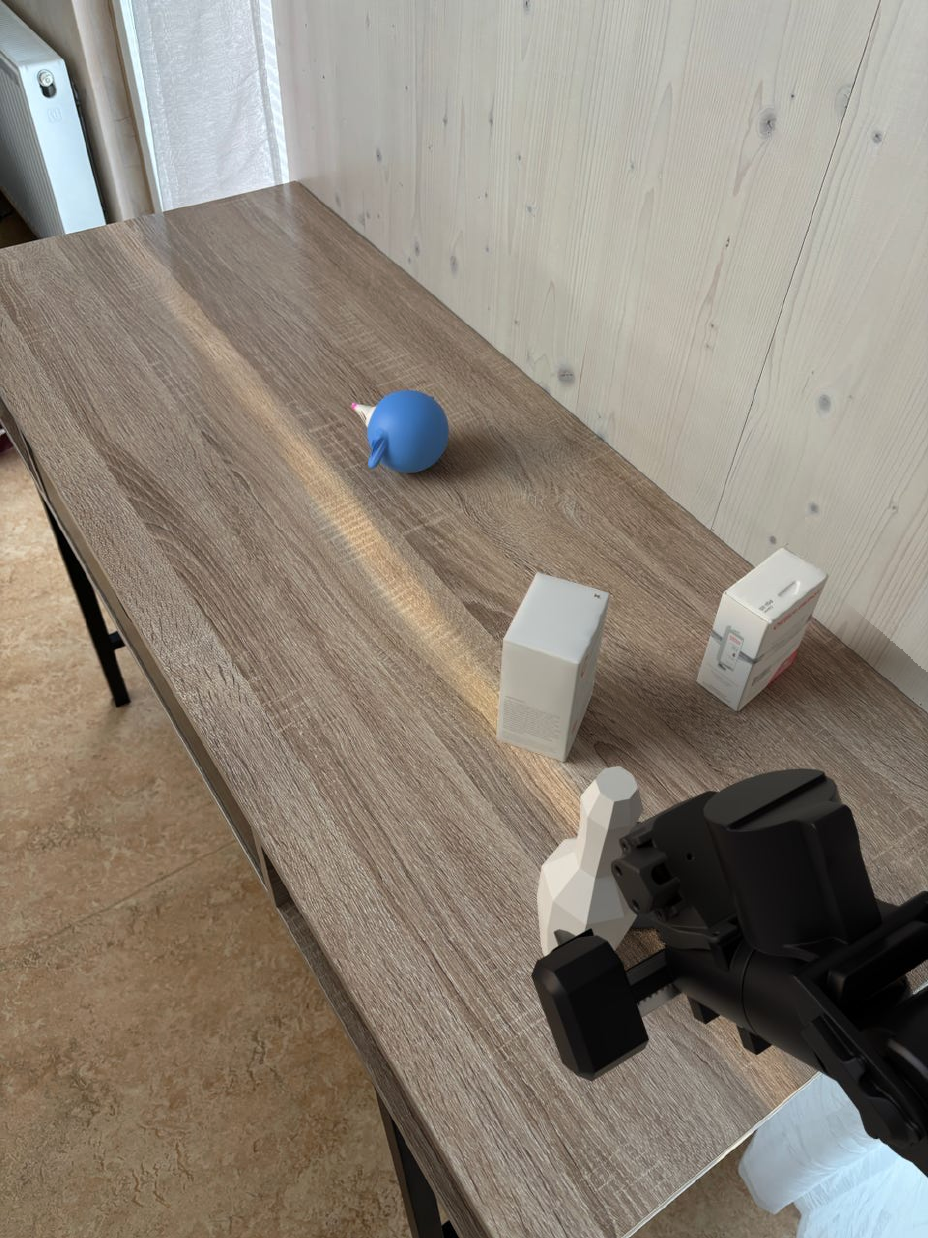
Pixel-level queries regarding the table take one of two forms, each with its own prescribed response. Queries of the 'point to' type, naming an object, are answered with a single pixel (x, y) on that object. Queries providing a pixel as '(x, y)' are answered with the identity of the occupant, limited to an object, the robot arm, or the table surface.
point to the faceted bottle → (591, 865)
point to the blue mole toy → (405, 431)
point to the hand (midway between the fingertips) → (620, 903)
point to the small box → (550, 665)
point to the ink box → (760, 627)
